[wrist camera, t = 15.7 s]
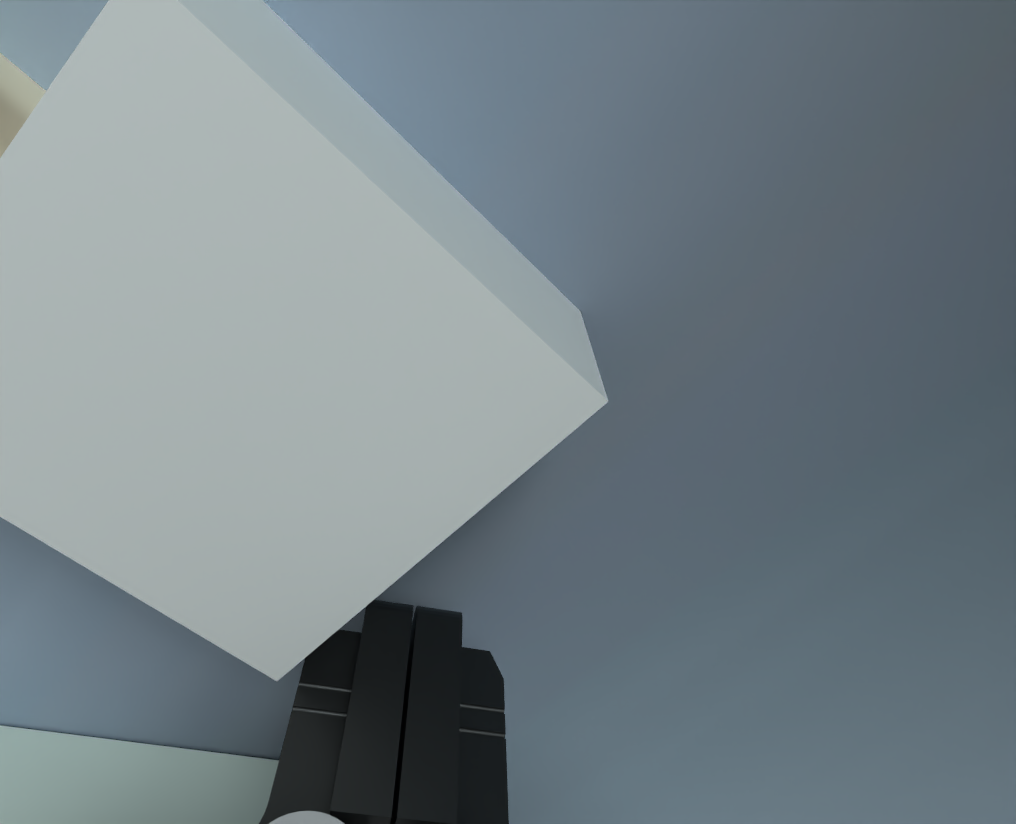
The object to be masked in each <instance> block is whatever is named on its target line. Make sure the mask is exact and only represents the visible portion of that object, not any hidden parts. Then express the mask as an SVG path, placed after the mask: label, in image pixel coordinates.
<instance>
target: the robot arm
mask: <svg viewBox="0 0 1016 824" xmlns="http://www.w3.org/2000/svg"><path fill="white" fill-rule="evenodd" d="M412 616H413V605H406V604H399V603H393V602H386V601H379V600H373V601H372V602H371V603H369V604H368V605H367V607H366V612H365V617H364V622H363V628H362V633H359V632H352V631H345V630H337V631H336V632H335V633H334V634H333V635H331V636H330V637H329V638H328V639H327V640H326V641H324V642H323V643H322V644H321V645H320V646H318V647H317V648H316V649H315V650H314V651H313V652H311V653H310V654H309V655H308V656H307V657H306V658H305V662H304V666H303V670H302V673H301V677H300V681H299V686H298V689H297V693H296V697H295V701H294V704H293V709H292V712H291V716H290V720H289V724H288V728H287V732H286V736H285V739H284V743H283V747H282V751H281V755H280V759H279V763H278V767H277V770H276V774H275V778H274V782H273V786H272V790H271V794H270V798H269V801H268V805H267V808H266V811H265V813H264V815H263V817H262V819H261V821H260V822H259V824H509V820H508V792H507V763H506V739H505V714H504V709H505V705H504V679H503V677H502V675H501V673H500V671H499V669H498V667H497V665H496V663H495V661H494V659H493V657H492V655H491V653H490V651H485V650H478V649H471V648H464V647H462V613H461V612H454V611H448V610H441V609H434V608H428V607H421V606H416V609H415V613H414V617H413V621H412Z"/></svg>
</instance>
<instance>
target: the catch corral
mask: <svg viewBox="0 0 1016 824" xmlns="http://www.w3.org/2000/svg"><path fill="white" fill-rule="evenodd" d="M278 763H279V760H271V759H263V758H255V757H247V756H239V755H231V754H223V753H215V752H207V751H199V750H191V749H183V748H175V747H167V746H159V745H151V744H144V743H136V742H128V741H120V740H112V739H104V738H96V737H88V736H80V735H72V734H64V733H56V732H48V731H40V730H32V729H24V728H16V727H8V726H0V824H259V822H260V821H261V819H262V817H263V815H264V813H265V811H266V808H267V805H268V801H269V798H270V794H271V790H272V786H273V782H274V778H275V774H276V770H277V767H278Z"/></svg>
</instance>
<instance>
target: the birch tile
mask: <svg viewBox="0 0 1016 824" xmlns="http://www.w3.org/2000/svg"><path fill="white" fill-rule="evenodd" d="M45 92H46V91H45V90H44V89H43V88H42V87H40V86H39V85H38V84H37V83H36V82H34V81H33V80H32V79H31V78H30V77H28V76H27V75H26V74H25V73H24V72H23V71H21V70H20V69H19V68H18V67H17V66H15V65H14V64H13V63H12V62H11V61H9V60H8V59H7V58H6V57H5V56H3V55H2V54H1V53H0V158H1V156H2V155H3V153H4V152H5V151H6V149H7V148H8V146H9V145H10V143H11V142H12V140H13V139H14V137H15V136H16V135H17V133H18V132H19V130H20V129H21V127H22V126H23V124H24V123H25V121H26V120H27V119H28V117H29V116H30V114H31V113H32V111H33V110H34V108H35V107H36V105H37V104H38V103H39V101H40V100H41V98H42V97H43V95H44V94H45Z"/></svg>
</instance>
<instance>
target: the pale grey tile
mask: <svg viewBox="0 0 1016 824" xmlns="http://www.w3.org/2000/svg"><path fill="white" fill-rule="evenodd" d="M607 402H608V399H607V395H606V392H605V389H604V386H603V382H602V379H601V376H600V373H599V370H598V366H597V363H596V360H595V357H594V353H593V350H592V347H591V344H590V341H589V337H588V334H587V331H586V328H585V324H584V321H583V318H582V315H581V312H580V310H579V309H578V308H577V307H576V306H575V305H574V304H572V303H571V302H570V301H569V300H568V299H567V298H566V297H565V296H564V295H563V294H562V293H561V292H560V291H559V290H558V289H557V288H556V287H555V286H554V285H553V284H552V283H551V282H550V281H549V280H548V279H547V278H546V277H545V276H544V275H543V274H542V273H541V272H540V271H539V270H538V269H537V268H536V267H535V266H534V265H533V264H532V263H531V262H530V261H529V260H528V259H526V258H525V257H524V256H523V255H522V254H521V253H520V252H519V251H518V250H517V249H516V248H515V247H514V246H513V245H512V244H511V243H510V242H509V241H508V240H507V239H506V238H505V237H504V236H503V235H502V234H501V233H500V232H499V231H498V230H497V229H496V228H495V227H494V226H493V225H492V224H491V223H490V222H489V221H488V220H487V219H486V218H485V217H484V216H483V215H482V214H480V213H479V212H478V211H477V210H476V209H475V208H474V207H473V206H472V205H471V204H470V203H469V202H468V201H467V200H466V199H465V198H464V197H463V196H462V195H461V194H460V193H459V192H458V191H457V190H456V189H455V188H454V187H453V186H452V185H451V184H450V183H449V182H448V181H447V180H446V179H445V178H444V177H443V176H442V175H441V174H440V173H439V172H438V171H437V170H436V169H434V168H433V167H432V166H431V165H430V164H429V163H428V162H427V161H426V160H425V159H424V158H423V157H422V156H421V155H420V154H419V153H418V152H417V151H416V150H415V149H414V148H413V147H412V146H411V145H410V144H409V143H408V142H407V141H406V140H405V139H404V138H403V137H402V136H401V135H400V134H399V133H398V132H397V131H396V130H395V129H394V128H393V127H392V126H391V125H390V124H388V123H387V122H386V121H385V120H384V119H383V118H382V117H381V116H380V115H379V114H378V113H377V112H376V111H375V110H374V109H373V108H372V107H371V106H370V105H369V104H368V103H367V102H366V101H365V100H364V99H363V98H362V97H361V96H360V95H359V94H358V93H357V92H356V91H355V90H354V89H353V88H352V87H351V86H350V85H349V84H348V83H347V82H346V81H345V80H344V79H342V78H341V77H340V76H339V75H338V74H337V73H336V72H335V71H334V70H333V69H332V68H331V67H330V66H329V65H328V64H327V63H326V62H325V61H324V60H323V59H322V58H321V57H320V56H319V55H318V54H317V53H316V52H315V51H314V50H313V49H312V48H311V47H310V46H309V45H308V44H307V43H306V42H305V41H304V40H303V39H302V38H301V37H300V36H299V35H298V34H296V33H295V32H294V31H293V30H292V29H291V28H290V27H289V26H288V25H287V24H286V23H285V22H284V21H283V20H282V19H281V18H280V17H279V16H278V15H277V14H276V13H275V12H274V11H273V10H272V9H271V8H270V7H269V6H268V5H267V4H266V3H265V2H264V1H263V0H109V1H108V2H107V4H106V5H105V6H104V8H103V9H102V11H101V12H100V14H99V15H98V17H97V18H96V20H95V21H94V22H93V24H92V25H91V27H90V28H89V30H88V31H87V33H86V34H85V36H84V37H83V38H82V40H81V41H80V43H79V44H78V46H77V47H76V49H75V50H74V52H73V53H72V54H71V56H70V57H69V59H68V60H67V62H66V63H65V65H64V66H63V68H62V69H61V70H60V72H59V73H58V75H57V76H56V78H55V79H54V81H53V82H52V84H51V85H50V87H49V88H48V89H47V91H46V92H45V94H44V95H43V97H42V98H41V100H40V101H39V103H38V104H37V105H36V107H35V108H34V110H33V111H32V113H31V114H30V116H29V117H28V119H27V120H26V121H25V123H24V124H23V126H22V127H21V129H20V130H19V132H18V133H17V135H16V136H15V137H14V139H13V140H12V142H11V143H10V145H9V146H8V148H7V149H6V151H5V152H4V153H3V155H2V156H1V158H0V517H2V518H3V519H5V520H7V521H8V522H10V523H12V524H13V525H15V526H17V527H18V528H20V529H22V530H23V531H25V532H27V533H28V534H30V535H32V536H33V537H35V538H37V539H39V540H40V541H42V542H44V543H45V544H47V545H49V546H50V547H52V548H54V549H55V550H57V551H59V552H60V553H62V554H64V555H65V556H67V557H69V558H70V559H72V560H74V561H75V562H77V563H79V564H80V565H82V566H84V567H86V568H87V569H89V570H91V571H92V572H94V573H96V574H97V575H99V576H101V577H102V578H104V579H106V580H107V581H109V582H111V583H112V584H114V585H116V586H117V587H119V588H121V589H122V590H124V591H126V592H128V593H129V594H131V595H133V596H134V597H136V598H138V599H139V600H141V601H143V602H144V603H146V604H148V605H149V606H151V607H153V608H154V609H156V610H158V611H159V612H161V613H163V614H164V615H166V616H168V617H169V618H171V619H173V620H175V621H176V622H178V623H180V624H181V625H183V626H185V627H186V628H188V629H190V630H191V631H193V632H195V633H196V634H198V635H200V636H201V637H203V638H205V639H206V640H208V641H210V642H211V643H213V644H215V645H217V646H218V647H220V648H222V649H223V650H225V651H227V652H228V653H230V654H232V655H233V656H235V657H237V658H238V659H240V660H242V661H243V662H245V663H247V664H248V665H250V666H252V667H253V668H255V669H257V670H259V671H260V672H262V673H264V674H265V675H267V676H269V677H270V678H272V679H274V680H275V681H278V680H279V679H281V678H282V677H283V676H284V675H285V674H286V673H288V672H289V671H290V670H291V669H292V668H294V667H295V666H296V665H297V664H298V663H299V662H301V661H302V660H303V659H304V658H305V657H307V656H308V655H309V654H310V653H311V652H313V651H314V650H315V649H316V648H317V647H318V646H320V645H321V644H322V643H323V642H324V641H326V640H327V639H328V638H329V637H330V636H331V635H333V634H334V633H335V632H336V631H337V630H339V629H340V628H341V627H342V626H343V625H344V624H346V623H347V622H348V621H349V620H350V619H352V618H353V617H354V616H355V615H356V614H358V613H359V612H360V611H361V610H362V609H363V608H365V607H366V606H367V605H368V604H369V603H371V602H372V601H373V600H374V599H375V598H376V597H378V596H379V595H380V594H381V593H382V592H384V591H385V590H386V589H387V588H388V587H389V586H391V585H392V584H393V583H394V582H395V581H397V580H398V579H399V578H400V577H401V576H402V575H404V574H405V573H406V572H407V571H408V570H410V569H411V568H412V567H413V566H414V565H416V564H417V563H418V562H419V561H420V560H421V559H423V558H424V557H425V556H426V555H427V554H429V553H430V552H431V551H432V550H433V549H434V548H436V547H437V546H438V545H439V544H440V543H442V542H443V541H444V540H445V539H446V538H447V537H449V536H450V535H451V534H452V533H453V532H455V531H456V530H457V529H458V528H459V527H461V526H462V525H463V524H464V523H465V522H466V521H468V520H469V519H470V518H471V517H472V516H474V515H475V514H476V513H477V512H478V511H479V510H481V509H482V508H483V507H484V506H485V505H487V504H488V503H489V502H490V501H491V500H492V499H494V498H495V497H496V496H497V495H498V494H500V493H501V492H502V491H503V490H504V489H505V488H507V487H508V486H509V485H510V484H511V483H513V482H514V481H515V480H516V479H517V478H519V477H520V476H521V475H522V474H523V473H524V472H526V471H527V470H528V469H529V468H530V467H532V466H533V465H534V464H535V463H536V462H537V461H539V460H540V459H541V458H542V457H543V456H545V455H546V454H547V453H548V452H549V451H550V450H552V449H553V448H554V447H555V446H556V445H558V444H559V443H560V442H561V441H562V440H564V439H565V438H566V437H567V436H568V435H569V434H571V433H572V432H573V431H574V430H575V429H577V428H578V427H579V426H580V425H581V424H582V423H584V422H585V421H586V420H587V419H588V418H590V417H591V416H592V415H593V414H594V413H595V412H597V411H598V410H599V409H600V408H601V407H603V406H604V405H605V404H606V403H607Z"/></svg>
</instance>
